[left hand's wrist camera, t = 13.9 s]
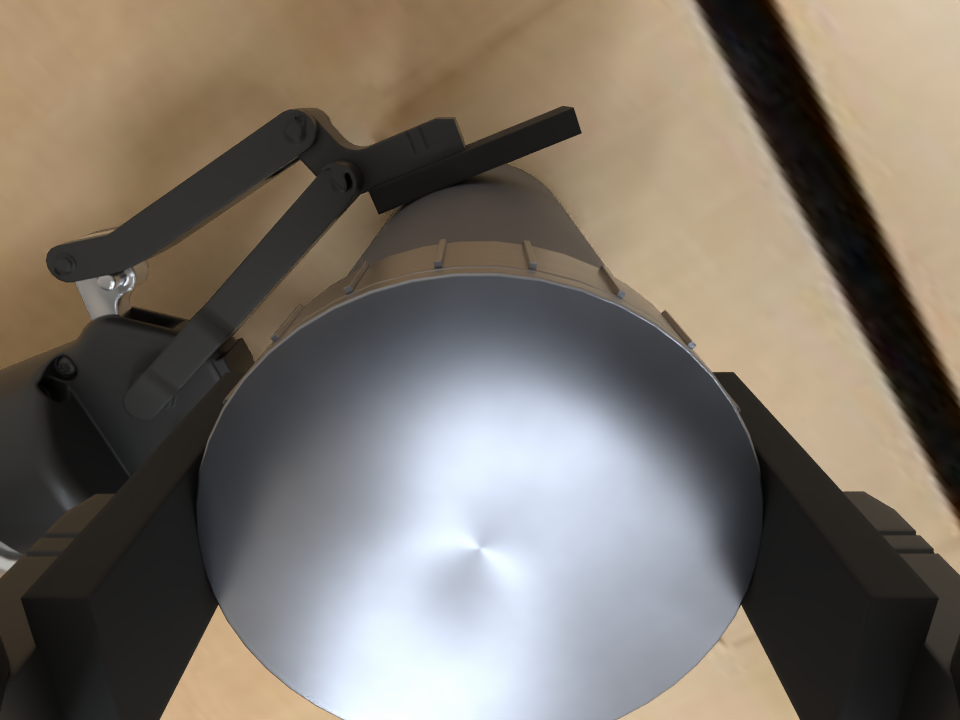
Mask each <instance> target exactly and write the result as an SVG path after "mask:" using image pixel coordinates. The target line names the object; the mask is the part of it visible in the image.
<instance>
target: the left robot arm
mask: <svg viewBox="0 0 960 720" xmlns="http://www.w3.org/2000/svg"><path fill="white" fill-rule="evenodd" d="M246 373H247V372H226V373H225V374H224V375H223V376H222V377H221V378H220V379H219V380H218V381H217V383H216V384H215V385H214V386H213V387H212V388H211V389H210V390H209V391H208V392H207V394H206V395H205V396H204V397H203V398H202V399H201V400H200V401H199V402H198V403H197V405H196V406H195V407H194V408H193V409H192V410H191V411H190V412H189V413H188V414H187V416H186V417H185V418H184V419H183V420H182V421H181V422H180V423H179V424H178V425H177V427H176V428H175V429H174V430H173V431H172V432H171V433H170V434H169V435H168V436H167V438H166V439H165V440H164V441H163V442H162V443H161V444H160V445H159V446H158V447H157V449H156V450H155V451H154V452H153V453H152V454H151V455H150V456H149V457H148V458H147V460H146V461H145V462H144V463H143V464H142V465H141V466H140V467H139V468H138V469H137V471H136V472H135V473H134V474H133V475H132V476H131V477H130V478H129V479H128V480H127V482H126V483H125V484H124V485H123V486H122V487H121V488H120V489H119V490H118V491H117V493H116V494H95V495H93V496H92V497H90V498H88V499H87V500H85V501H83V502H82V503H80V504H78V505H77V506H75V507H73V508H72V509H70V510H68V511H67V512H65V513H64V514H63V515H62V516H61V517H60V518H59V519H58V520H57V521H56V522H55V523H54V524H53V525H52V526H51V527H50V528H49V529H48V530H47V531H46V532H45V533H44V538H39V539H38V540H37V541H36V542H35V544H34V545H33V546H32V547H31V548H30V549H29V550H28V551H27V554H26V556H22V557H21V558H20V559H19V560H18V561H17V562H16V563H15V564H14V565H13V566H12V567H11V568H10V569H9V570H8V571H7V572H6V573H5V574H4V575H3V576H2V577H1V578H0V720H160V718H161V716H162V714H163V712H164V710H165V708H166V706H167V704H168V702H169V700H170V698H171V696H172V694H173V692H174V690H175V688H176V686H177V685H178V683H179V681H180V679H181V677H182V675H183V673H184V671H185V669H186V667H187V665H188V663H189V661H190V659H191V657H192V655H193V653H194V651H195V649H196V647H197V645H198V643H199V641H200V639H201V638H202V636H203V634H204V632H205V630H206V628H207V626H208V624H209V622H210V620H211V618H212V616H213V614H214V612H215V610H216V608H217V606H218V603H217V601H216V599H215V597H214V595H213V593H212V590H211V587H210V584H209V582H208V579H207V576H206V573H205V570H204V567H203V562H202V557H201V552H200V547H199V541H198V536H197V530H196V508H195V501H196V492H197V484H198V475H199V469H200V466H201V462H202V459H203V455H204V452H205V448H206V445H207V441H208V438H209V436H210V434H211V432H212V430H213V427H214V425H215V423H216V421H217V419H218V417H219V415H220V412H221V410H222V408H223V407H224V404H223V401H224V399H225V398H226V397H227V395H228V394H229V393H230V392H231V391H232V389H233V388H234V387H235V386H236V385H237V383H238V382H239V381H240V380H241V379H242V377H243V376H244V375H245V374H246ZM712 373H713V374H714V375H715V377H716V378H717V380H718V381H719V383H720V384H721V385H722V387H723V388H724V389H725V391H726V392H727V393H728V394H729V396H730V397H731V398H732V399H733V400H734V402H735V403H736V404H737V405H738V406H739V408H740V411H741V412H740V413H739V414H740V416H741V418H742V420H743V422H744V424H745V426H746V428H747V430H748V432H749V434H750V437H751V440H752V443H753V447H754V450H755V453H756V456H757V459H758V463H759V466H760V473H761V480H762V487H763V494H764V526H763V533H762V538H761V544H760V549H759V555H758V560H757V565H756V568H755V571H754V574H753V577H752V580H751V583H750V586H749V589H748V591H747V593H746V595H745V597H744V599H743V601H742V603H741V605H742V607H743V609H744V611H745V613H746V615H747V617H748V619H749V621H750V623H751V625H752V627H753V629H754V631H755V632H756V634H757V636H758V638H759V640H760V642H761V644H762V646H763V648H764V650H765V652H766V654H767V656H768V658H769V660H770V662H771V664H772V666H773V668H774V670H775V672H776V674H777V676H778V678H779V679H780V681H781V683H782V685H783V687H784V689H785V691H786V693H787V695H788V697H789V699H790V701H791V703H792V705H793V707H794V709H795V711H796V713H797V715H798V717H799V719H800V720H960V575H959V574H958V573H957V572H956V571H955V570H954V569H953V568H952V567H951V566H950V565H949V564H948V563H947V562H946V561H945V560H944V559H943V558H942V557H941V556H940V555H939V554H934V549H933V548H932V547H931V546H930V545H929V544H928V543H927V542H926V541H925V540H924V539H923V538H922V537H921V536H920V535H916V531H915V530H914V529H913V528H912V527H911V526H910V525H909V524H908V523H907V522H906V521H905V520H904V519H903V518H902V517H901V516H900V515H899V514H898V513H897V512H896V511H895V510H894V509H892V508H891V507H889V506H887V505H886V504H884V503H882V502H880V501H879V500H877V499H875V498H874V497H872V496H870V495H869V494H867V493H865V492H842V491H841V490H840V489H839V488H838V486H837V485H836V484H835V483H834V482H833V481H832V480H831V479H830V478H829V477H828V475H827V474H826V473H825V472H824V471H823V470H822V469H821V468H820V467H819V466H818V464H817V463H816V462H815V461H814V460H813V459H812V458H811V457H810V456H809V455H808V453H807V452H806V451H805V450H804V449H803V448H802V447H801V446H800V445H799V444H798V442H797V441H796V440H795V439H794V438H793V437H792V436H791V435H790V434H789V433H788V431H787V430H786V429H785V428H784V427H783V426H782V425H781V424H780V423H779V422H778V420H777V419H776V418H775V417H774V416H773V415H772V414H771V413H770V412H769V411H768V409H767V408H766V407H765V406H764V405H763V404H762V403H761V402H760V401H759V400H758V398H757V397H756V396H755V395H754V394H753V393H752V392H751V391H750V390H749V389H748V388H747V386H746V385H745V384H744V383H743V382H742V381H741V380H740V379H739V378H738V377H737V375H736V374H735V373H734V372H712Z"/></svg>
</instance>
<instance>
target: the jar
mask: <svg viewBox="0 0 960 720" xmlns="http://www.w3.org/2000/svg"><path fill="white" fill-rule="evenodd" d="M440 239H446V242H447V243H453V242H469V241H497V242H505V243H514V244H522V245H523V240H526V241H530V243H531V246H534V247H538V248H542V249H546V250H550V251H554V252H558V253H562V254H565V255H568V256H570V257H573V258H575V259H578V260H580V261H583V262H585V263H587V264H590V265H592V266H595V267H597V268H599V269H600V267H601V265H603V266H605V265H604V264H603V262H602V261H601V259H600V258H599V257H598V255H597V254H596V253H595V251H594V250H593V248H592V247H591V246H590V244H589V243H588V241H587V240H586V239H585V237H584V236H583V235H582V233H581V232H580V230H579V229H578V228H577V226H576V225H575V224H574V222H573V221H572V219H571V218H570V217H569V215H568V214H567V213H566V211H565V210H564V208H563V207H562V206H561V204H560V203H559V202H558V200H557V199H556V198H555V196H554V195H553V194H552V193H551V192H550V191H549V190H548V189H547V188H546V187H545V186H544V185H543V184H542V183H541V182H540V181H538V180H537V179H536V178H534V177H533V176H532V175H530V174H528V173H526V172H524V171H522V170H521V169H518V168H515V167H513V166H510V165H507V164H504V165H501V166H499V167H496V168H494V169H491V170H489V171H486V172H484V173H481V174H479V175H476V176H474V177H471V178H469V179H466V180H464V181H461V182H459V183H456V184H454V185H451V186H449V187H446V188H444V189H441V190H439V191H436V192H434V193H431V194H429V195H426V196H424V197H421V198H419V199H416V200H414V201H411V202H409V203H406V204H404V205H401V206H399V207H397V208H396V210H395V211H394V212H393V214H392V215H391V217H390V218H389V219H388V221H387V222H386V223H385V225H384V226H383V228H382V229H381V230H380V232H379V233H378V234H377V236H376V237H375V239H374V240H373V241H372V243H371V244H370V245H369V247H368V248H367V250H366V251H365V252H364V254H363V255H362V256H361V258H360V259H359V261H358V262H357V263H356V265H355V266H354V267H353V269H352V270H351V272H350V273H349V274H348V275H350V274H352V273H353V272H355V271H356V270H357V268H358V267H359V265H360V264H361V263H362V262H365V261H367V263H368V265H370V264H372V263H375V262H377V261H379V260H382V259H384V258H386V257H389V256H392V255H395V254H399V253H403V252H406V251H410V250H413V249H417V248H420V247H424V246H431V245H438V244H439V240H440ZM605 267H606V266H605Z"/></svg>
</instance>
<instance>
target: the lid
mask: <svg viewBox="0 0 960 720" xmlns="http://www.w3.org/2000/svg"><path fill="white" fill-rule="evenodd" d="M271 340H272V341H273V342H272V344H271V345H270V346H269V347H268V348H267V350H266V351H265V352H264V353H263V354H262V356H261V357H260V358H259V359H258V360H257V361H256V362H255V363H254V364H253V366H252V367H251V368H250V369H249V370H248V372H247V373H246V374H245V375H244V376H243V377H242V379H241V380H240V381H239V382H238V383H237V385H236V386H235V387H234V388H233V389H232V391H231V392H230V393H229V394H228V395H227V397H226V398H225V399H224V401H223V404H224V407H223V408H222V410H221V412H220V415H219V417H218V419H217V421H216V423H215V425H214V427H213V430H212V432H211V434H210V436H209V438H208V441H207V445H206V448H205V452H204V455H203V459H202V462H201V466H200V469H199V475H198V484H197V492H196V501H195V508H196V530H197V536H198V541H199V547H200V552H201V557H202V562H203V567H204V570H205V573H206V576H207V579H208V582H209V584H210V587H211V590H212V593H213V595H214V597H215V599H216V601H217V603H218V604H219V606H220V608H221V610H222V612H223V614H224V616H225V618H226V619H227V621H228V623H229V624H230V625H231V627H232V628H233V630H234V631H235V632H236V634H237V635H238V637H239V638H240V639H241V641H242V642H243V644H244V645H245V646H246V647H247V648H248V649H249V651H250V652H251V653H252V654H253V655H254V656H255V657H256V658H257V659H258V660H259V661H260V662H261V663H262V664H263V666H264V667H265V668H266V669H267V670H269V671H270V672H271V673H272V674H273V675H275V676H276V677H277V678H278V679H279V680H281V681H282V682H283V683H284V684H285V685H286V686H288V687H289V688H290V689H292V690H293V691H295V692H296V693H298V694H299V695H301V696H302V697H304V698H305V699H307V700H308V701H310V702H311V703H313V704H314V705H316V706H317V707H319V708H321V709H323V710H325V711H327V712H329V713H331V714H333V715H335V716H337V717H339V718H341V719H342V720H617V719H619V718H621V717H623V716H625V715H627V714H629V713H631V712H632V711H634V710H636V709H638V708H640V707H642V706H644V705H645V704H647V703H649V702H650V701H652V700H653V699H655V698H656V697H658V696H659V695H660V694H662V693H663V692H665V691H666V690H668V689H669V688H671V687H672V686H673V685H675V684H676V683H677V682H678V681H679V680H680V679H681V678H683V677H684V676H685V675H686V674H687V673H688V672H689V671H691V670H692V669H693V668H694V667H695V666H696V665H697V664H698V663H699V662H700V661H701V660H702V659H703V658H704V656H705V655H706V654H707V653H708V652H709V651H710V650H711V649H712V648H713V646H714V645H715V644H716V643H717V642H718V640H719V639H720V638H721V636H722V635H723V633H724V632H725V630H726V629H727V627H728V626H729V624H730V623H731V622H732V620H733V619H734V617H735V615H736V613H737V611H738V609H739V607H740V605H741V603H742V601H743V599H744V597H745V595H746V593H747V591H748V589H749V586H750V583H751V580H752V577H753V574H754V571H755V568H756V565H757V560H758V555H759V549H760V544H761V538H762V533H763V526H764V494H763V487H762V480H761V473H760V466H759V463H758V459H757V456H756V453H755V450H754V447H753V443H752V440H751V437H750V434H749V432H748V430H747V428H746V426H745V424H744V422H743V420H742V418H741V416H740V414H739V413H740V412H741V411H740V408H739V406H738V405H737V404H736V403H735V402H734V400H733V399H732V398H731V397H730V396H729V394H728V393H727V392H726V391H725V389H724V388H723V387H722V385H721V384H720V383H719V381H718V380H717V378H716V377H715V375H714V374H713V373H712V372H711V370H710V369H709V368H708V367H707V366H706V365H705V363H704V362H703V361H702V360H701V358H700V357H699V356H698V355H697V354H696V352H695V351H694V350H693V348H694V347H695V346H696V345H695V343H694V342H693V341H692V340H691V339H690V338H689V336H688V335H687V334H686V333H685V332H684V331H683V329H682V328H681V327H680V326H679V325H678V324H677V322H676V321H675V320H674V319H673V318H672V317H671V315H670V314H669V313H668V312H667V311H666V310H665V311H663V312H662V313H660V312H659V311H658V310H657V309H656V308H655V306H654V305H653V304H651V303H650V302H649V301H647V300H646V299H645V298H644V297H642V296H641V295H640V294H638V293H637V292H636V291H635V290H633V289H632V288H631V287H629V286H628V285H627V284H625V283H623V282H622V281H620V280H618V279H616V278H615V277H614V276H613V275H612V274H611V272H610V271H609V269H608V268H607V267H605V266H603V265H601V267H600V269H599V268H597V267H595V266H592V265H590V264H587V263H585V262H583V261H580V260H578V259H575V258H573V257H570V256H568V255H565V254H562V253H558V252H554V251H550V250H546V249H542V248H538V247H534V246H531V243H530V241H526V240H523V245H522V244H514V243H505V242H497V241H469V242H453V243H447V242H446V239H440V240H439V244H438V245H431V246H424V247H420V248H417V249H413V250H410V251H406V252H403V253H399V254H395V255H392V256H389V257H386V258H384V259H382V260H379V261H377V262H375V263H372V264H370V265H368V263H367V261H365V262H362V263H361V264H360V265H359V267H358V268H357V270H356V271H355V272H353V273H352V274H350V275H348V276H347V277H345V278H343V279H342V280H340V281H338V282H337V283H335V284H333V285H332V286H330V287H328V288H327V289H326V290H325V291H323V292H322V293H321V294H320V295H319V296H317V297H316V298H315V299H314V300H312V301H311V302H310V303H309V304H307V305H306V306H305V307H304V306H303V305H302V304H300V305H299V306H298V307H297V308H296V309H295V310H294V311H293V312H292V314H291V315H290V316H289V317H288V318H287V319H286V321H285V322H284V323H283V324H282V325H281V326H280V328H279V329H278V330H277V331H276V332H275V333H274V335H273V336H272V337H271Z"/></svg>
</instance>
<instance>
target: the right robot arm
mask: <svg viewBox="0 0 960 720" xmlns="http://www.w3.org/2000/svg"><path fill="white" fill-rule="evenodd" d="M578 134H581V130H580V126H579V123H578V120H577V117H576V114H575V111H574V108H573V107H566V106H562V107H559V108H557V109H554V110H552V111H550V112H547V113H545V114H542V115H540V116H537V117H535V118H532V119H530V120H527V121H525V122H523V123H520V124H518V125H515V126H513V127H510V128H508V129H505V130H503V131H501V132H498V133H496V134H493V135H491V136H488V137H486V138H483V139H481V140H478V141H476V142H474V143H471V144H469V145H465V142H464V139H463V137H462V134H461V131H460V129H459V126H458V123H457V121H456V118H455V117H438V118H435V119H433V120H431V121H428V122H426V123H423V124H421V125H419V126H416V127H414V128H411V129H409V130H407V131H404V132H402V133H399V134H397V135H395V136H392V137H390V138H387V139H385V140H383V141H380V142H378V143H375V144H373V145H370V146H357V145H354V144H352V143H350V142H348V141H347V140H346V139H345V138H344V137H343V136H342V135H341V134H340V133H339V132H338V131H337V129H336V128H335V127H334V126H333V125H332V124H331V121H330V119H329V117H328V116H327V115H326V114H325V113H324V112H323V111H321V110H319V109H317V108H302V109H290V110H287V111H285V112H283V113H281V114H280V115H278V116H277V117H275V118H274V119H273V120H271V121H270V122H268V123H267V124H265V125H264V126H263V127H261V128H260V129H258V130H257V131H255V132H254V133H253V134H251V135H250V136H248V137H247V138H245V139H244V140H243V141H241V142H240V143H238V144H237V145H235V146H234V147H233V148H231V149H230V150H228V151H227V152H225V153H224V154H223V155H221V156H220V157H218V158H217V159H215V160H214V161H213V162H211V163H210V164H208V165H207V166H205V167H204V168H203V169H201V170H200V171H198V172H197V173H195V174H194V175H193V176H191V177H190V178H188V179H187V180H185V181H184V182H183V183H181V184H180V185H178V186H177V187H175V188H174V189H173V190H171V191H170V192H168V193H167V194H165V195H164V196H163V197H161V198H160V199H158V200H157V201H155V202H154V203H153V204H151V205H150V206H148V207H147V208H145V209H144V210H143V211H141V212H140V213H138V214H137V215H135V216H134V217H133V218H131V219H130V220H128V221H127V222H126V223H124V224H123V225H121V226H120V227H115V228H111V229H106V230H101V231H97V232H94V233H92V234H89V235H86V236H83V237H80V238H78V239H75V240H72V241H69V242H67V243H64V244H61V245H58V246H56V247H54V248H52V249H51V250H50V251H49V252H48V254H47V258H46V262H47V267H48V269H49V270H50V272H51V273H52V275H53V276H55V277H56V278H57V279H59V280H61V281H64V282H75V284H76V286H77V288H78V290H79V293H80V295H81V297H82V299H83V302H84V304H85V306H86V309H87V311H88V313H89V315H90V318H91V320H92V321H91V322H90V323H89V324H87V326H86V327H85V328H84V329H83V331H82V333H81V335H80V336H79V337H78V338H77V340H75V341H72V342H70V343H67V344H65V345H62V346H60V347H57V348H55V349H52V350H50V351H47V352H45V353H42V354H40V355H37V356H35V357H32V358H30V359H27V360H25V361H22V362H20V363H17V364H15V365H12V366H10V367H7V368H5V369H2V370H0V578H1V577H2V576H3V575H4V574H5V573H6V572H7V571H8V570H9V569H10V568H11V567H12V566H13V565H14V564H15V563H16V562H17V561H18V560H19V559H20V558H21V557H22V556H26V554H27V551H28V550H29V549H30V548H31V547H32V546H33V545H34V544H35V542H36V541H37V540H38V539H39V538H44V533H45V532H46V531H47V530H48V529H49V528H50V527H51V526H52V525H53V524H54V523H55V522H56V521H57V520H58V519H59V518H60V517H61V516H62V515H63V514H64V513H65V512H67V511H68V510H70V509H72V508H73V507H75V506H77V505H78V504H80V503H82V502H83V501H85V500H87V499H88V498H90V497H92V496H93V495H95V494H116V493H117V491H118V490H119V489H120V488H121V487H122V486H123V485H124V484H125V483H126V482H127V480H128V479H129V478H130V477H131V476H132V475H133V474H134V473H135V472H136V471H137V469H138V468H139V467H140V466H141V465H142V464H143V463H144V462H145V461H146V460H147V458H148V457H149V456H150V455H151V454H152V453H153V452H154V451H155V450H156V449H157V447H158V446H159V445H160V444H161V443H162V442H163V441H164V440H165V439H166V438H167V436H168V435H169V434H170V433H171V432H172V431H173V430H174V429H175V428H176V427H177V425H178V424H179V423H180V422H181V421H182V420H183V419H184V418H185V417H186V416H187V414H188V413H189V412H190V411H191V410H192V409H193V408H194V407H195V406H196V405H197V403H198V402H199V401H200V400H201V399H202V398H203V397H204V396H205V395H206V394H207V392H208V391H209V390H210V389H211V388H212V387H213V386H214V385H215V384H216V383H217V381H218V380H219V379H220V378H221V377H222V376H223V375H224V374H225V373H226V372H248V370H249V369H250V368H251V367H252V366H253V364H254V360H253V356H252V354H251V352H250V351H249V349H248V347H247V345H246V343H245V342H244V340H243V338H240V339H238V340H236V339H235V338H234V337H233V335H234V334H235V333H236V332H237V331H238V329H239V328H240V327H241V326H242V325H243V324H244V323H245V322H246V321H247V320H248V318H249V317H250V316H251V315H252V314H253V313H254V312H255V311H256V309H257V308H258V307H259V306H260V305H261V304H262V302H263V301H264V300H265V299H266V298H267V297H268V296H269V295H270V294H271V292H272V291H273V290H274V289H275V288H276V287H277V286H278V285H279V284H280V283H281V281H282V280H283V279H284V278H285V277H286V276H287V275H288V274H289V273H290V272H291V270H292V269H293V268H294V267H295V266H296V265H297V264H298V263H299V262H300V260H301V259H302V258H303V257H304V256H305V255H306V254H307V253H308V252H309V251H310V249H311V248H312V247H313V246H314V245H315V244H316V243H317V242H318V241H319V240H320V238H321V237H322V236H323V235H324V234H325V233H326V232H327V231H328V230H329V228H330V227H331V226H332V225H333V224H334V223H335V222H336V221H337V220H338V219H339V217H340V216H341V215H342V214H343V213H344V212H345V211H346V210H347V209H348V207H349V206H350V205H351V204H352V203H353V202H354V201H355V200H356V199H357V198H358V196H359V195H360V194H363V193H365V192H368V191H369V193H370V195H371V198H372V200H373V202H374V204H375V207H376V209H377V211H378V214H381V213H384V212H386V211H389V210H391V209H394V208H396V207H399V206H401V205H404V204H406V203H409V202H411V201H414V200H416V199H419V198H421V197H424V196H426V195H429V194H431V193H434V192H436V191H439V190H441V189H444V188H446V187H449V186H451V185H454V184H456V183H459V182H461V181H464V180H466V179H469V178H471V177H474V176H476V175H479V174H481V173H484V172H486V171H489V170H491V169H494V168H496V167H499V166H501V165H504V164H506V163H509V162H511V161H514V160H516V159H519V158H521V157H524V156H526V155H529V154H531V153H534V152H536V151H539V150H541V149H544V148H546V147H549V146H551V145H553V144H556V143H558V142H561V141H563V140H566V139H568V138H571V137H573V136H576V135H578ZM300 160H301V161H302V162H303V163H304V164H305V165H306V166H307V167H308V168H309V169H310V170H311V171H312V172H313V173H314V175H315V176H316V177H317V178H316V179H315V180H314V181H313V182H312V183H311V184H310V186H309V187H308V188H307V189H306V190H305V191H304V192H303V194H302V195H301V196H300V197H299V198H298V199H297V200H296V202H295V203H294V204H293V205H292V206H291V207H290V208H289V210H288V211H287V212H286V213H285V214H284V215H283V216H282V218H281V219H280V220H279V221H278V222H277V223H276V224H275V226H274V227H273V228H272V229H271V230H270V231H269V232H268V234H267V235H266V236H265V237H264V238H263V239H262V240H261V242H260V243H259V244H258V245H257V246H256V247H255V248H254V250H253V251H252V252H251V253H250V254H249V255H248V256H247V258H246V259H245V260H244V261H243V262H242V263H241V264H240V266H239V267H238V268H237V269H236V270H235V271H234V272H233V274H232V275H231V276H230V277H229V278H228V279H227V280H226V282H225V283H224V284H223V285H222V286H221V287H220V288H219V290H218V291H217V292H216V293H215V294H214V295H213V296H212V298H211V299H210V300H209V301H208V302H207V303H206V304H205V306H204V307H203V308H202V309H201V310H200V311H198V312H197V313H196V314H195V315H194V316H193V317H192V318H191V320H187V319H183V318H179V317H174V316H170V315H166V314H162V313H158V312H154V311H149V310H145V309H141V308H137V307H132V306H131V303H130V295H131V292H132V291H133V290H134V288H136V287H138V286H140V285H141V284H143V283H144V282H145V281H146V279H147V277H148V267H149V266H148V262H147V261H146V260H147V259H149V258H151V257H153V256H155V255H157V254H159V253H161V252H163V251H165V250H167V249H169V248H171V247H172V246H174V245H176V244H178V243H179V242H181V241H182V240H183V239H185V238H186V237H188V236H189V235H191V234H192V233H194V232H195V231H197V230H198V229H200V228H201V227H203V226H204V225H206V224H207V223H208V222H210V221H211V220H213V219H214V218H216V217H217V216H219V215H220V214H222V213H223V212H225V211H226V210H228V209H229V208H231V207H232V206H234V205H235V204H236V203H238V202H239V201H241V200H242V199H244V198H245V197H247V196H248V195H250V194H251V193H253V192H254V191H256V190H257V189H259V188H260V187H262V186H263V185H264V184H266V183H267V182H269V181H270V180H272V179H273V178H275V177H276V176H278V175H279V174H281V173H282V172H284V171H285V170H287V169H288V168H290V167H291V166H292V165H294V164H295V163H297V162H298V161H300Z"/></svg>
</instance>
